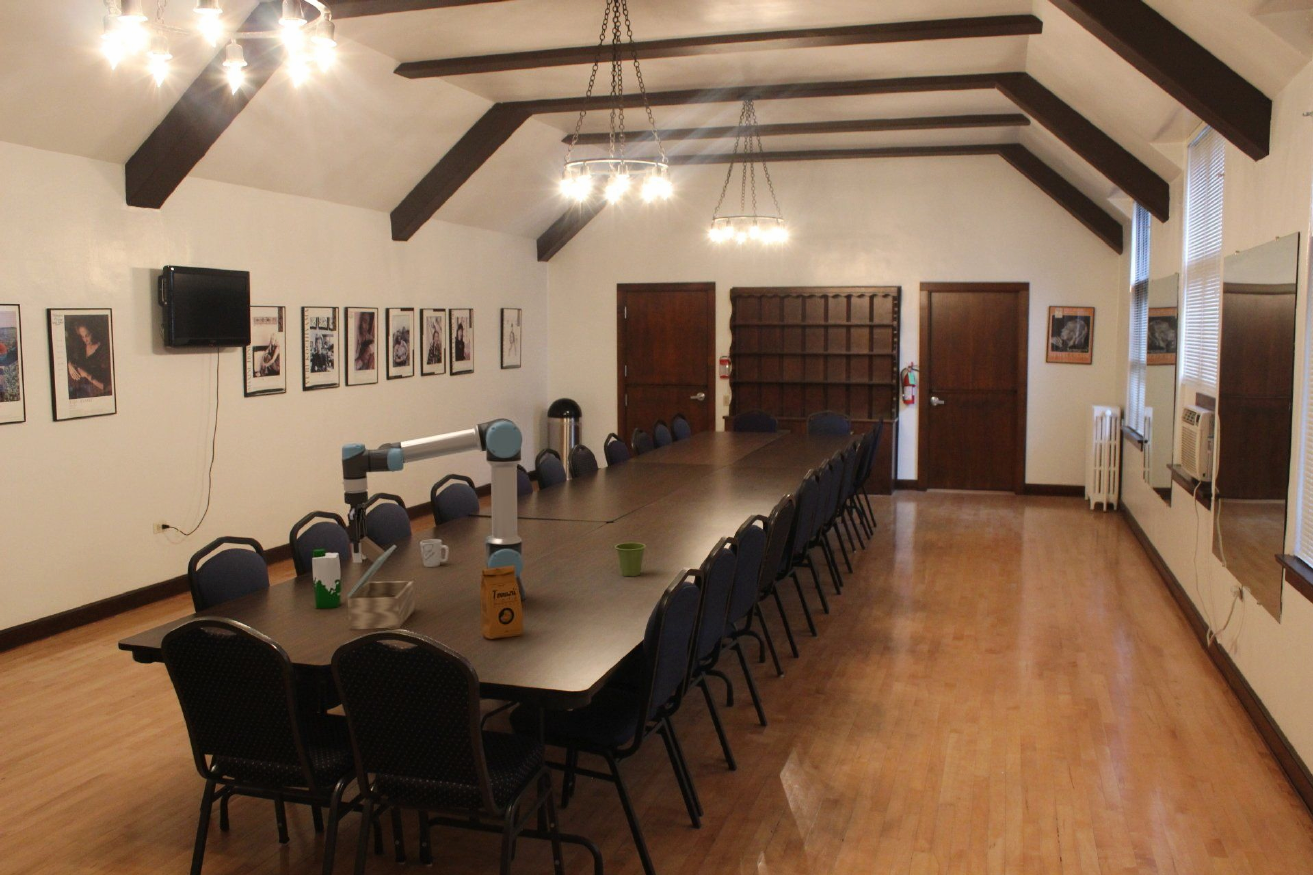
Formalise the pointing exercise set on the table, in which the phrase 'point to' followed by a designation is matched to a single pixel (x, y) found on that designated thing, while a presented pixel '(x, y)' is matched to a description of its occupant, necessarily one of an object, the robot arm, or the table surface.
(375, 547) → the lid
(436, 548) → the mug
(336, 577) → the milk carton
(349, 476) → the robot arm
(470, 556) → the table surface
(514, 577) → the coffee package
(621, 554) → the plant pot
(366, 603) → the box
